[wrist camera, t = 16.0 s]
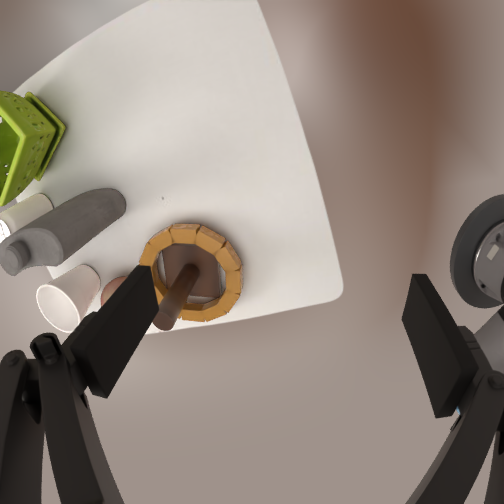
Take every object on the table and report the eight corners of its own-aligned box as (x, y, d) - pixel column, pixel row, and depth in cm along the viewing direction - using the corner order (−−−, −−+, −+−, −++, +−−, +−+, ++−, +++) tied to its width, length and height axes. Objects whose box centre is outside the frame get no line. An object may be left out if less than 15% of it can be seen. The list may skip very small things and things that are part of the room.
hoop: (241, 225, 47) (239, 231, 45) (243, 317, 54) (241, 325, 52) (138, 222, 48) (132, 227, 46) (153, 308, 55) (148, 316, 53)
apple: (111, 292, 57) (90, 316, 50) (119, 261, 54) (96, 284, 47) (147, 311, 58) (130, 338, 51) (158, 281, 55) (139, 308, 47)
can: (38, 228, 53) (-1, 254, 43) (27, 197, 51) (-15, 220, 40) (59, 221, 52) (18, 248, 41) (48, 188, 49) (3, 211, 39)
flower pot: (35, 82, 41) (-17, 87, 29) (80, 124, 44) (27, 136, 32) (7, 144, 46) (-40, 161, 35) (47, 187, 49) (0, 211, 38)
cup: (113, 303, 58) (86, 338, 48) (74, 295, 59) (44, 326, 49) (105, 258, 54) (72, 290, 44) (64, 251, 55) (29, 280, 45)
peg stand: (219, 243, 50) (192, 295, 37) (221, 293, 54) (199, 352, 41) (164, 240, 51) (124, 288, 38) (170, 288, 55) (137, 343, 42)
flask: (119, 180, 47) (36, 227, 29) (130, 214, 50) (56, 274, 32) (56, 203, 50) (-22, 250, 33) (67, 232, 53) (-5, 286, 35)
